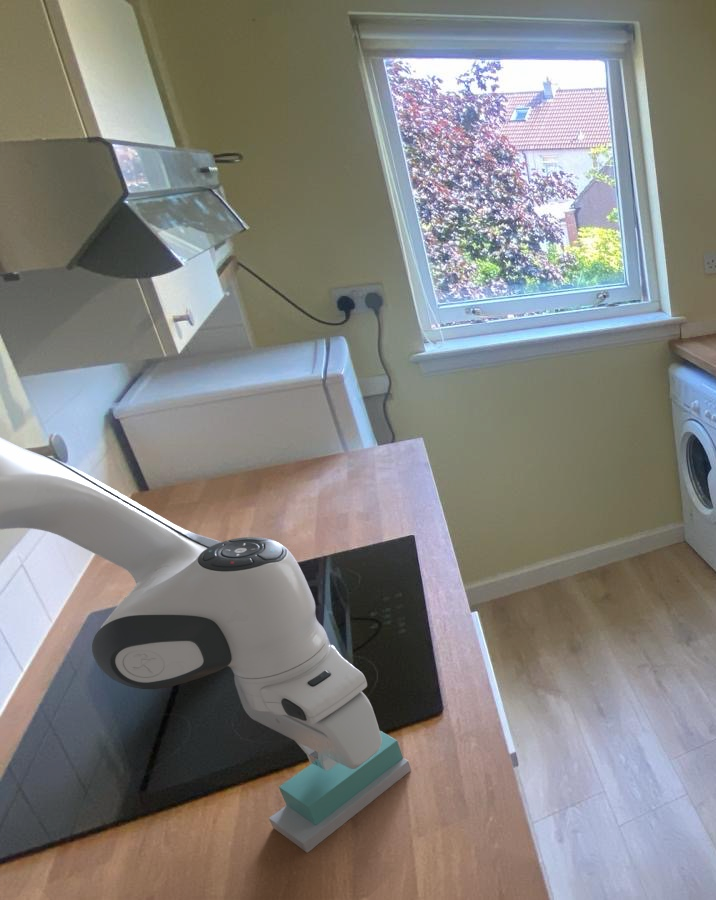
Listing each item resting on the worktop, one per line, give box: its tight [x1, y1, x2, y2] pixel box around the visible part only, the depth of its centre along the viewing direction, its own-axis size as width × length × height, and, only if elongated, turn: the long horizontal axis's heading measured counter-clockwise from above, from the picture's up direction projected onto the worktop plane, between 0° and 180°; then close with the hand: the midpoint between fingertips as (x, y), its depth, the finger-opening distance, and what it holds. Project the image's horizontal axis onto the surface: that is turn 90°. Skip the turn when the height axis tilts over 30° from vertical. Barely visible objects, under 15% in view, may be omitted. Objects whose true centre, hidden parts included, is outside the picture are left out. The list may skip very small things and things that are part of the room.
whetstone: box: [268, 730, 412, 854], centre depth 88 cm, size 13×5×7 cm
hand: (325, 763), depth 87 cm, fingers closed
